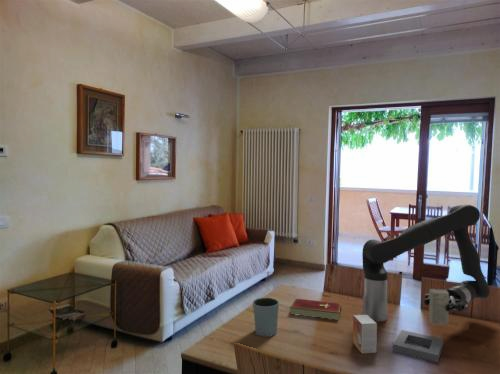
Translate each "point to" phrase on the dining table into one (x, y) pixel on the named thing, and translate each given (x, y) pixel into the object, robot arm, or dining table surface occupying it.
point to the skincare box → (438, 306)
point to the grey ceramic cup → (266, 316)
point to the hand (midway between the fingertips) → (436, 305)
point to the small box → (364, 333)
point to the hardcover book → (316, 308)
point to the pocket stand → (415, 351)
